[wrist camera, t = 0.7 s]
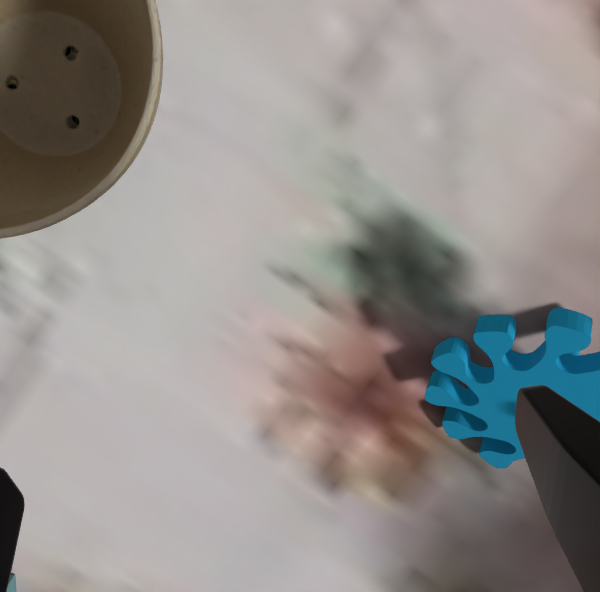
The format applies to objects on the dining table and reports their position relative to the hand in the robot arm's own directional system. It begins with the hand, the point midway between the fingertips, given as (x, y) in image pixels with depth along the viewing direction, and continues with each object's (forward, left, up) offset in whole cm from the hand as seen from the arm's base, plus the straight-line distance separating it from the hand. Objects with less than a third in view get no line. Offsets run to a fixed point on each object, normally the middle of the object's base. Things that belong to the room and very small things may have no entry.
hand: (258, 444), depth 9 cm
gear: (-4, -12, -13) cm, 18 cm away
